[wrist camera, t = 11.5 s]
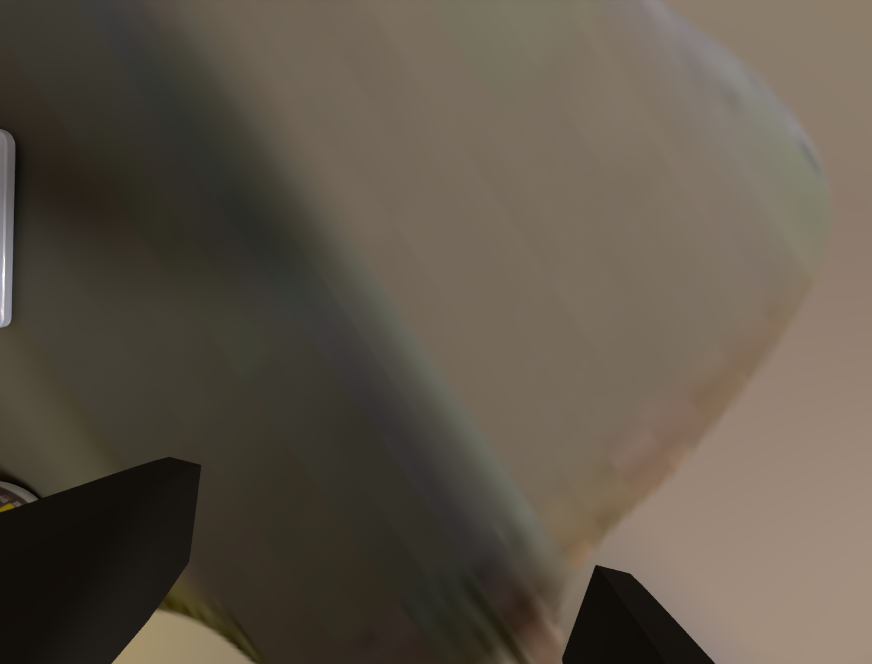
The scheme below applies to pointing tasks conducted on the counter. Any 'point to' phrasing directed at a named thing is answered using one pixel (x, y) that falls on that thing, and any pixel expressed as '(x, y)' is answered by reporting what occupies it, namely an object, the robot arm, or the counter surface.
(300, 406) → the counter surface
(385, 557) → the counter surface
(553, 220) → the counter surface
